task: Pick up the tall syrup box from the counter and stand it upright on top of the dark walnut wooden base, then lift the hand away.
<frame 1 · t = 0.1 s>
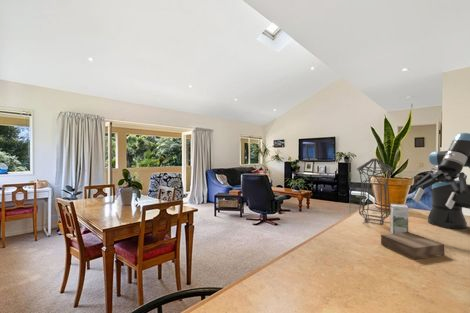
hand: (430, 203, 101), 15 cm above the kitchen counter, tool tilted 35°, fingers open, 13 cm apart
syrup box: (399, 237, 104), on the kitchen counter
geometric lantern: (374, 222, 127), on the kitchen counter
walnut base: (410, 249, 91), on the kitchen counter
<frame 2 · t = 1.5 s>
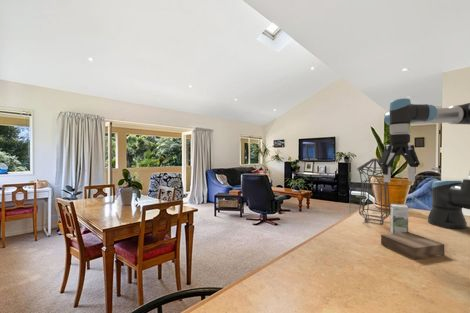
hand: (399, 181, 104), 25 cm above the kitchen counter, tool pointing down, fingers open, 13 cm apart
nothing on the kitchen counter moved.
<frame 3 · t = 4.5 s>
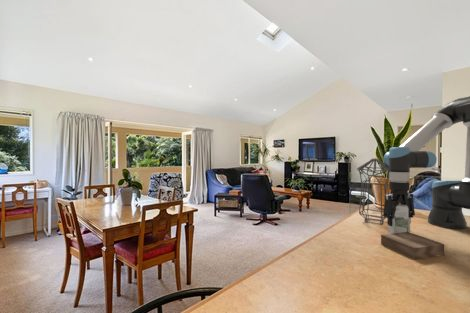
hand: (399, 231, 104), 2 cm above the kitchen counter, tool pointing down, fingers closed on syrup box, 8 cm apart
syrup box: (399, 237, 104), on the kitchen counter, touching gripper
everything else where it was.
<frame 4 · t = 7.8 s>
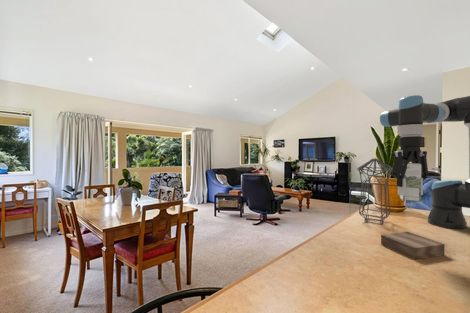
hand: (410, 194, 91), 21 cm above the kitchen counter, tool pointing down, fingers closed on syrup box, 8 cm apart
syrup box: (410, 200, 91), point 19 cm above the kitchen counter, touching gripper
everything else where it was.
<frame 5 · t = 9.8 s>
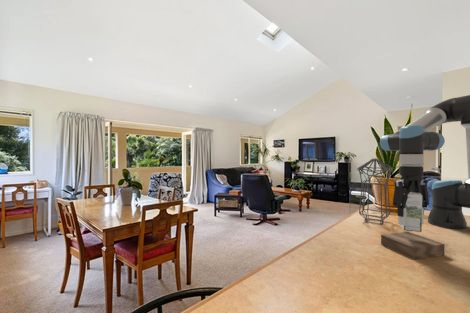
hand: (410, 223, 90), 10 cm above the kitchen counter, tool pointing down, fingers closed on syrup box, 8 cm apart
syrup box: (410, 229, 90), point 8 cm above the kitchen counter, touching gripper
everything else where it was.
when the fingers open (8 cm above the kitchen counter, at t = 11.2 s): syrup box drops 1 cm, resting on walnut base.
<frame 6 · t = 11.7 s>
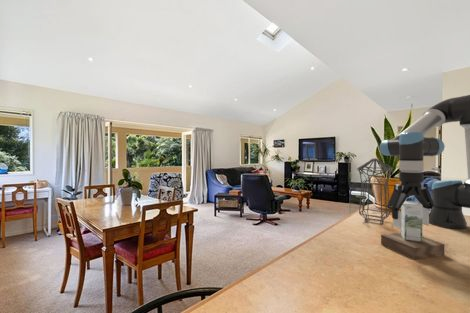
hand: (410, 225, 90), 9 cm above the kitchen counter, tool pointing down, fingers open, 13 cm apart
syrup box: (411, 239, 91), point 4 cm above the kitchen counter, touching walnut base
everything else where it was.
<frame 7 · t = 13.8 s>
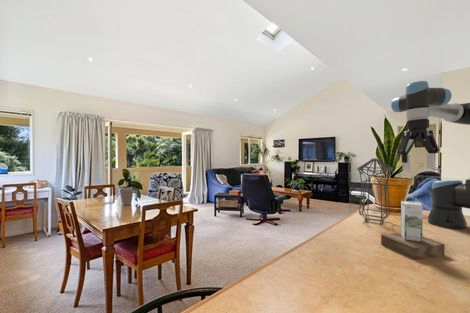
hand: (418, 169, 98), 31 cm above the kitchen counter, tool pointing down, fingers open, 13 cm apart
nothing on the kitchen counter moved.
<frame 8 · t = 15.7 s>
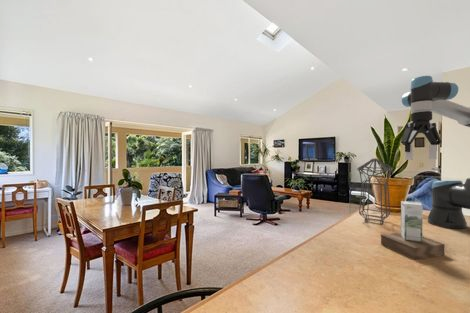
hand: (421, 159, 104), 35 cm above the kitchen counter, tool pointing down, fingers open, 13 cm apart
nothing on the kitchen counter moved.
at the end: syrup box inside the target area on the walnut base (0.3 cm from its centre), point 3.8 cm above the walnut base's base; syrup box tilted 0°; the gripper is holding nothing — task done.
